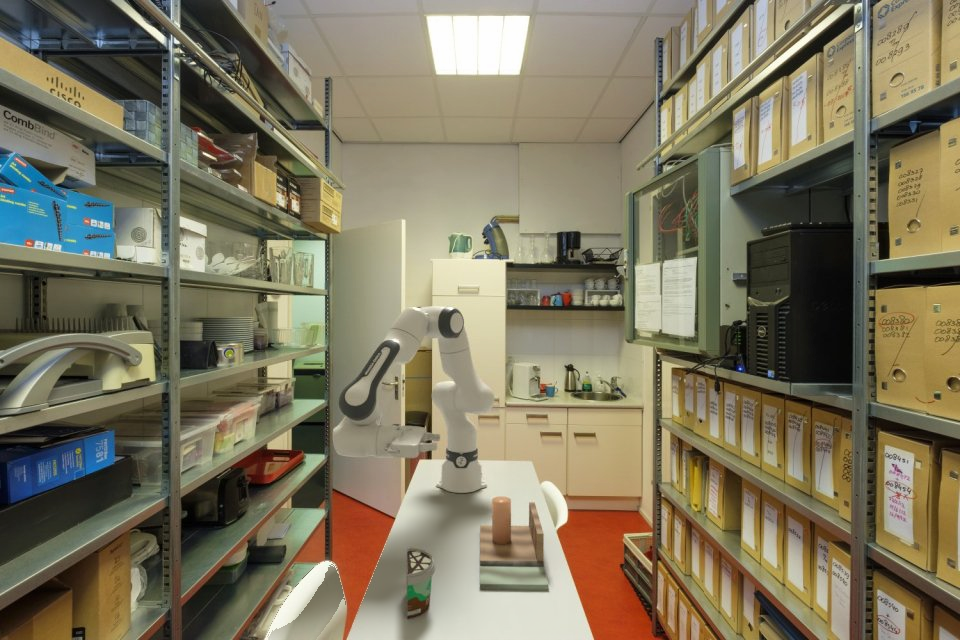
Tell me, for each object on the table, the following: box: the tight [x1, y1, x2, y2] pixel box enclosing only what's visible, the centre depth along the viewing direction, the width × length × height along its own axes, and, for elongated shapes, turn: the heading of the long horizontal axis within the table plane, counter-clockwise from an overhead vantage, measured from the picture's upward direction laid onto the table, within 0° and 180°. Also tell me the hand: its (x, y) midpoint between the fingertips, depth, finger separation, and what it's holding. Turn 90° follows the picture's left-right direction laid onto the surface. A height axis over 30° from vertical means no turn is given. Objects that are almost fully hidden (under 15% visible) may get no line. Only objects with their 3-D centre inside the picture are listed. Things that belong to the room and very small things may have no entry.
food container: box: [406, 547, 436, 620], centre depth 104 cm, size 12×6×10 cm, turn 9°
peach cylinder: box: [491, 496, 512, 544], centre depth 130 cm, size 5×5×11 cm
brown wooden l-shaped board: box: [479, 501, 549, 591], centre depth 124 cm, size 29×16×9 cm, turn 0°
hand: (438, 441), depth 134 cm, fingers open, 8 cm apart
